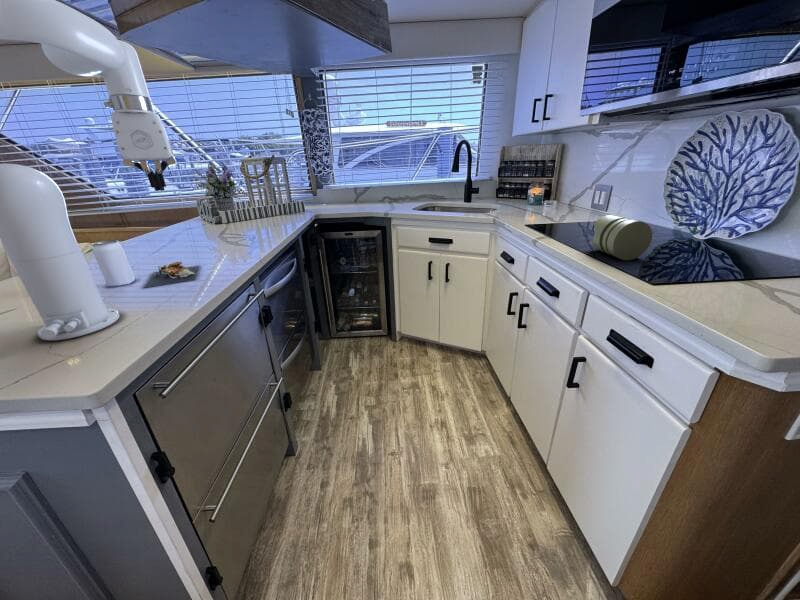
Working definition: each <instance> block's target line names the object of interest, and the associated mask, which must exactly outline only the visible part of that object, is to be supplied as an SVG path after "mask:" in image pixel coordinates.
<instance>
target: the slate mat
mask: <svg viewBox="0 0 800 600" xmlns="http://www.w3.org/2000/svg"><path fill="white" fill-rule="evenodd" d="M187 268H188V270H189V271H191V272H193V273H194V274H190V275H188V276H186V277H181V278H180V277H179V278H177V277H176V278H170V276H169V275H168V274H162V273H160V272H159V271H155V272H154V273H153V274H152V276H151V278H149V280H148V282H147V283H146V284H145V286H144V287H143V288H144V289H148V288H154V287H159V286H166V285H171V284H173V285H174V284H177V283H178V284H179V283H184V282H190V281H195V278H196V275H197V271H198V268H199V266H198V265H195V266H189V267H187ZM155 274H160V276H159V277H157V276H156V277H155V276H154V275H155Z"/></svg>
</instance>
